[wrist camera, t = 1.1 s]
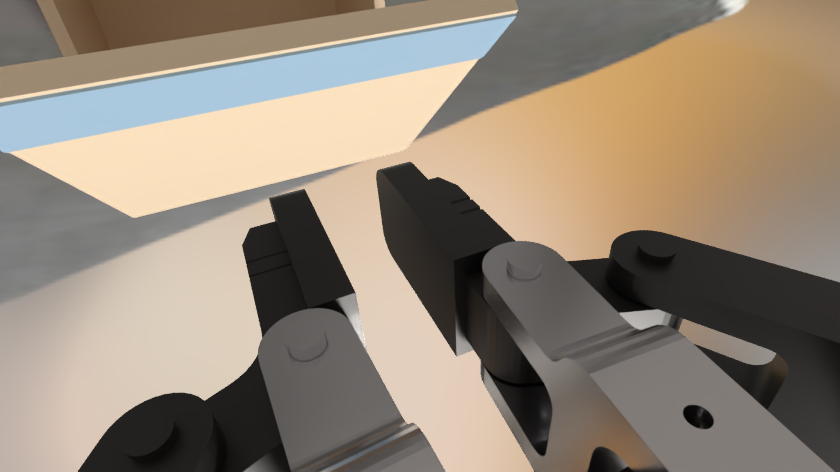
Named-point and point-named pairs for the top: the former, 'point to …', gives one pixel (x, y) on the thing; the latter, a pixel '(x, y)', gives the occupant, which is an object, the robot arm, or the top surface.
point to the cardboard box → (173, 19)
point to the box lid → (242, 102)
